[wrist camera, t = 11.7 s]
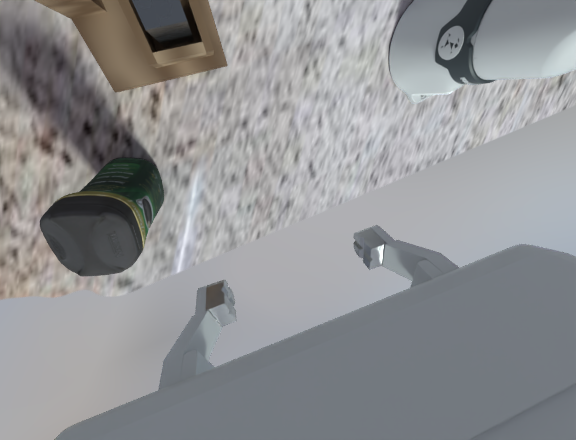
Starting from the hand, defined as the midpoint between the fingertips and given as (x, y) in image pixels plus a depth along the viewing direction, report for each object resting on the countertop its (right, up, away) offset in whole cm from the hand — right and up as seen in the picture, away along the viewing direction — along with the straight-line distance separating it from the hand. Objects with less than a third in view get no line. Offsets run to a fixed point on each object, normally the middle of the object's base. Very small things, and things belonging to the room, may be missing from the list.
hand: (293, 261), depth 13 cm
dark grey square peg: (-15, +28, +14) cm, 35 cm away
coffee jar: (-27, +9, +24) cm, 37 cm away
